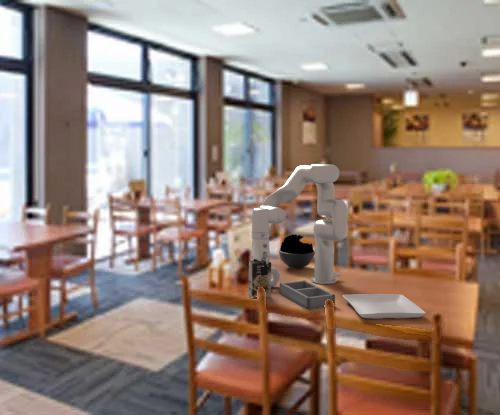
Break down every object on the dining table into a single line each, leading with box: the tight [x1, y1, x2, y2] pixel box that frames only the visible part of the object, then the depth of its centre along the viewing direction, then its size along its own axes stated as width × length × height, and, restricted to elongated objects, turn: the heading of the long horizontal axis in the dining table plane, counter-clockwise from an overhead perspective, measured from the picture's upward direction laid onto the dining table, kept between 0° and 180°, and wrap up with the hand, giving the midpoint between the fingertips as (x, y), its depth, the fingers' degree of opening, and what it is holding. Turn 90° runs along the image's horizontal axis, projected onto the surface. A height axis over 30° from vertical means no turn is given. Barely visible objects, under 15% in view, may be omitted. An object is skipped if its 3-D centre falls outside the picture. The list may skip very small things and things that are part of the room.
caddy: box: [279, 279, 336, 310], centre depth 228 cm, size 26×13×5 cm, turn 24°
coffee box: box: [248, 260, 272, 298], centre depth 232 cm, size 9×6×16 cm
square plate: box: [342, 293, 427, 320], centre depth 214 cm, size 27×27×4 cm
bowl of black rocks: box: [278, 233, 315, 270], centre depth 286 cm, size 20×20×19 cm
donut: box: [271, 266, 280, 288], centre depth 247 cm, size 10×4×10 cm, turn 123°
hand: (259, 272), depth 232 cm, fingers open, 9 cm apart
